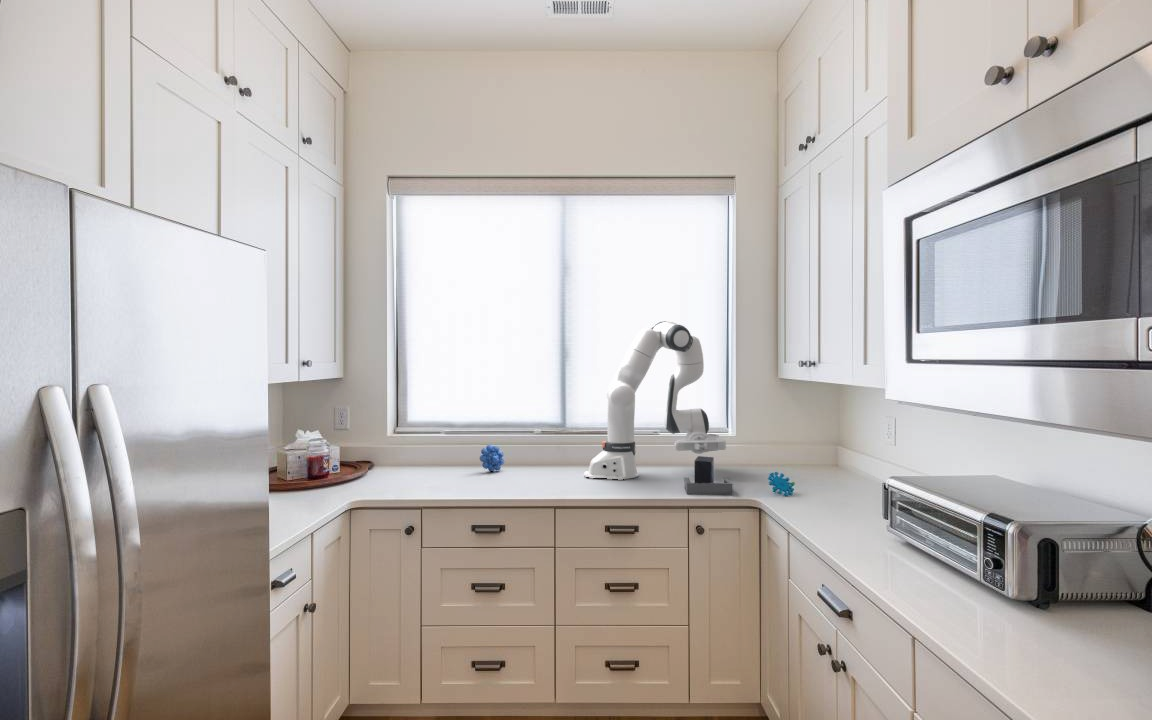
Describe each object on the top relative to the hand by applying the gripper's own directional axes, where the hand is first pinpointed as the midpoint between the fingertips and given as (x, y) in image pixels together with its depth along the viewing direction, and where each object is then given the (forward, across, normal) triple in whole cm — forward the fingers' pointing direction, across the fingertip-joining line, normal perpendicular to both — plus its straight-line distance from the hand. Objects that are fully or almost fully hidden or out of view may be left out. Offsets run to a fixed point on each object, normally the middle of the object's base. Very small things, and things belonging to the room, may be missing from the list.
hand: (702, 447), depth 237 cm
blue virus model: (+22, +25, +14) cm, 36 cm away
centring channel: (+20, -1, +13) cm, 23 cm away
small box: (+10, -1, +13) cm, 16 cm away
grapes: (-11, -88, +11) cm, 89 cm away
